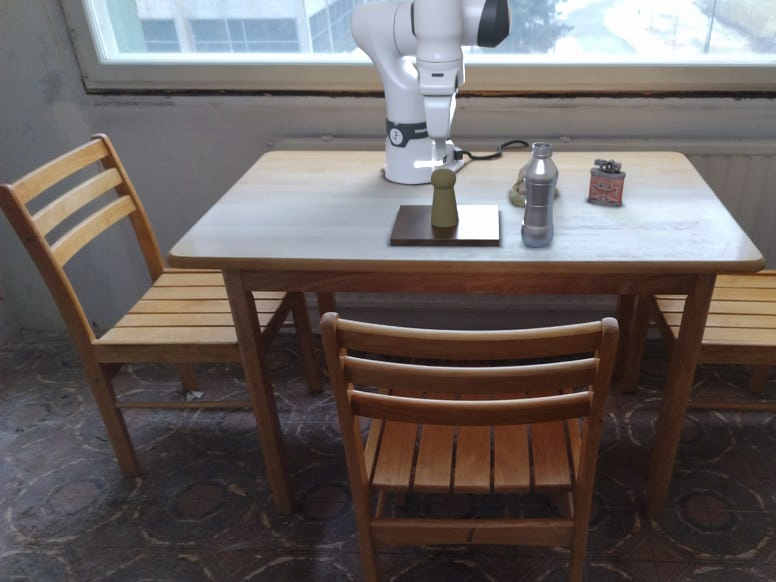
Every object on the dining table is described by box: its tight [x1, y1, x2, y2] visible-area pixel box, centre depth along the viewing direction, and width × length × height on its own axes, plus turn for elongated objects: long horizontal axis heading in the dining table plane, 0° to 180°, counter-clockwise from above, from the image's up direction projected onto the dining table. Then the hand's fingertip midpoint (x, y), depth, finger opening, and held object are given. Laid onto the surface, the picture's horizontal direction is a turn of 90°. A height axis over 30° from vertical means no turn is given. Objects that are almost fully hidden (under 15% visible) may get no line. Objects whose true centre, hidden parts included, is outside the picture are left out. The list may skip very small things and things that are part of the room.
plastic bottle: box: [520, 141, 559, 248], centre depth 127 cm, size 6×7×20 cm
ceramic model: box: [510, 155, 559, 207], centre depth 151 cm, size 14×11×10 cm
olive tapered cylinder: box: [430, 169, 459, 227], centre depth 135 cm, size 6×6×11 cm
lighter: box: [587, 158, 627, 208], centre depth 148 cm, size 8×3×10 cm, turn 65°
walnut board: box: [389, 204, 500, 248], centre depth 139 cm, size 22×18×2 cm
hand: (443, 147), depth 130 cm, fingers open, 8 cm apart
